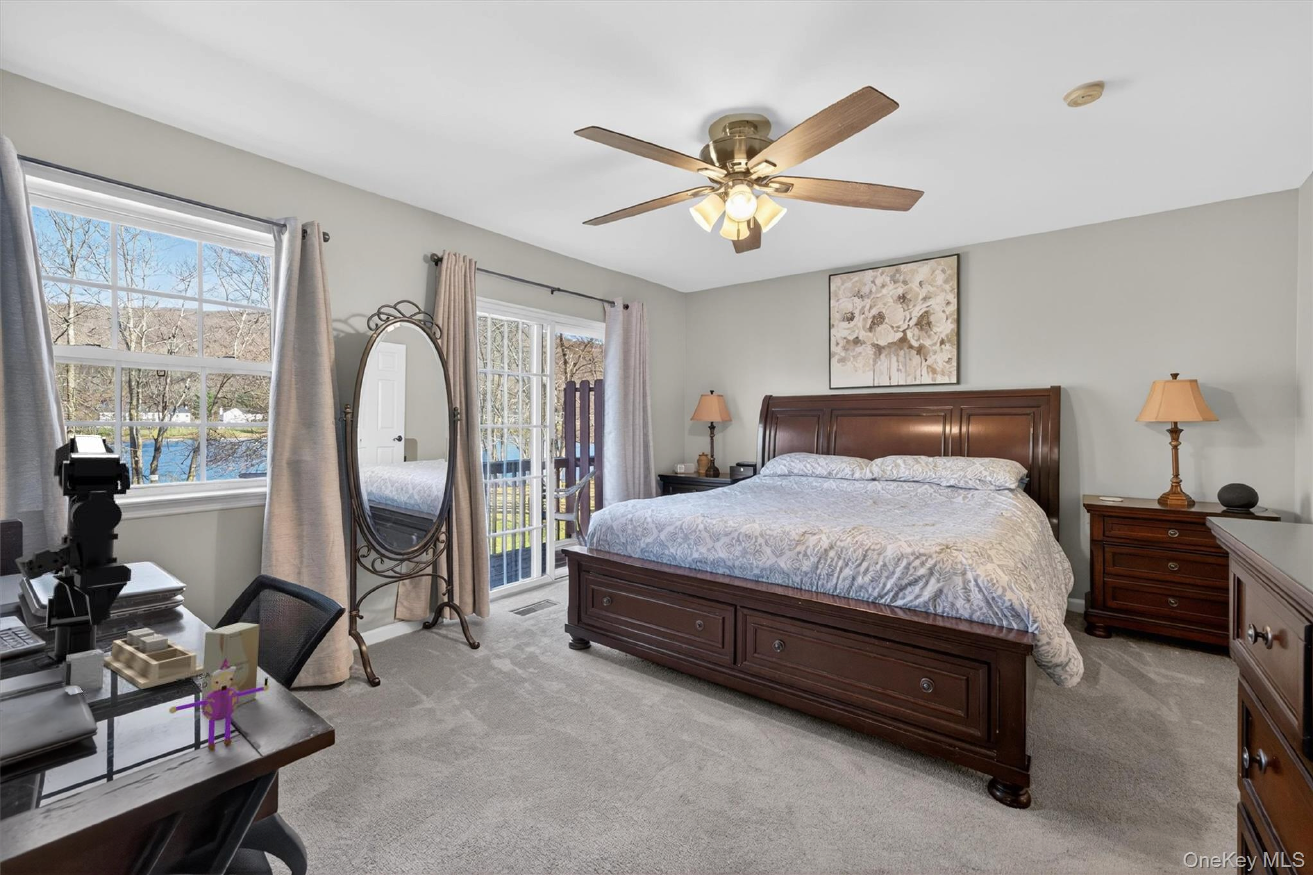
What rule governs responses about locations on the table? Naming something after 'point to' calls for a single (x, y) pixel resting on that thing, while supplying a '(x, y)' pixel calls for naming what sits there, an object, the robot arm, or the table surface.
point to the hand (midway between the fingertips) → (87, 620)
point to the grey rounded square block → (84, 670)
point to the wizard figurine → (219, 700)
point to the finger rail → (151, 659)
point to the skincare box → (233, 657)
